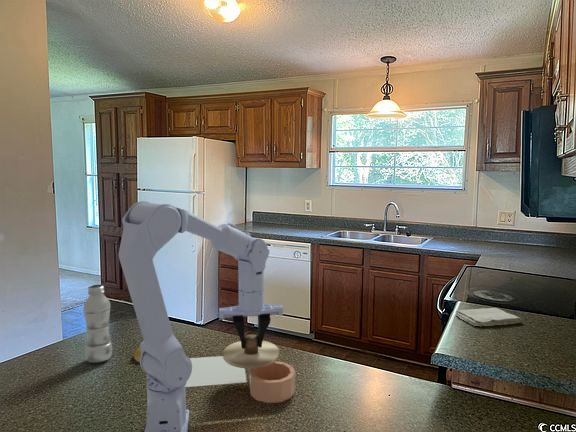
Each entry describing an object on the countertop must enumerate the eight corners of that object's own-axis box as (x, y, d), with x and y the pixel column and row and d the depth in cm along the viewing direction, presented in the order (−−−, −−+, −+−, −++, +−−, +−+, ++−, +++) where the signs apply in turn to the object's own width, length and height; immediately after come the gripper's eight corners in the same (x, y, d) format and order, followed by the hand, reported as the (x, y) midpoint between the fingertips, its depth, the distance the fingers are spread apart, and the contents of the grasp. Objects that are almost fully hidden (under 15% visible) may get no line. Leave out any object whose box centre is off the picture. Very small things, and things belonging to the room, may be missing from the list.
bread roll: (127, 362, 111) (127, 347, 110) (150, 349, 119) (150, 335, 118) (153, 368, 108) (152, 353, 107) (175, 353, 116) (174, 339, 115)
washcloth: (452, 317, 146) (453, 308, 146) (496, 313, 151) (497, 304, 150) (475, 330, 135) (476, 320, 135) (522, 325, 139) (523, 316, 139)
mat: (246, 384, 99) (246, 382, 99) (181, 389, 97) (181, 387, 97) (242, 356, 114) (242, 354, 114) (185, 360, 111) (185, 358, 111)
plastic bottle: (79, 362, 110) (75, 287, 107) (101, 353, 116) (98, 281, 113) (96, 368, 107) (92, 291, 104) (118, 357, 113) (115, 284, 110)
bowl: (298, 402, 92) (298, 380, 91) (252, 406, 90) (251, 384, 89) (290, 379, 101) (290, 359, 101) (248, 383, 100) (248, 362, 99)
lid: (284, 365, 93) (284, 346, 93) (225, 371, 91) (225, 352, 90) (273, 340, 106) (273, 324, 105) (221, 345, 103) (220, 328, 103)
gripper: (279, 283, 102) (279, 337, 103) (218, 285, 99) (219, 341, 101) (284, 291, 95) (284, 349, 96) (219, 294, 92) (220, 354, 94)
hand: (251, 346), depth 98 cm, fingers closed on lid, 3 cm apart
